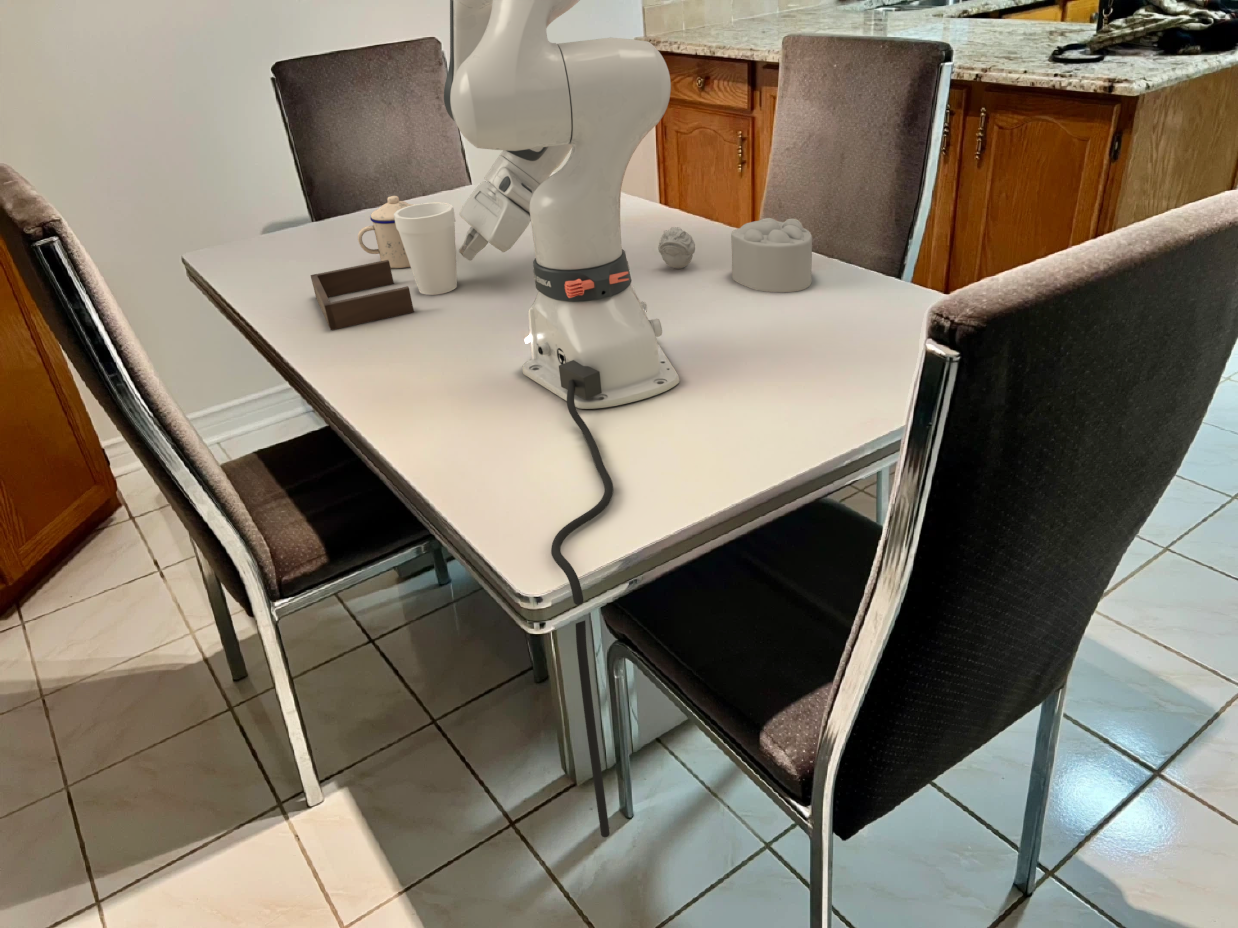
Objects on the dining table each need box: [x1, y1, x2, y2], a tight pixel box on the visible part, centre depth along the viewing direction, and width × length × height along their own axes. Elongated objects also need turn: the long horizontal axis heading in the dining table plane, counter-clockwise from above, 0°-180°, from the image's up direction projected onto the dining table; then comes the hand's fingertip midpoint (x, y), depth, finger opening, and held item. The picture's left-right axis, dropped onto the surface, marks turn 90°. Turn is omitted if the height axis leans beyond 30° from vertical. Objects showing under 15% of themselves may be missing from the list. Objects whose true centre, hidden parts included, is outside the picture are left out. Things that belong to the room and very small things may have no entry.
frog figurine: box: [657, 226, 696, 269], centre depth 153 cm, size 6×7×7 cm
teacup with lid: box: [357, 195, 414, 269], centre depth 168 cm, size 12×9×12 cm
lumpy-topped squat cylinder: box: [730, 217, 813, 293], centre depth 145 cm, size 10×13×9 cm
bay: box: [310, 260, 415, 331], centre depth 151 cm, size 17×13×4 cm
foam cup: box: [394, 201, 458, 296], centre depth 153 cm, size 10×9×13 cm
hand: (464, 256), depth 156 cm, fingers closed, pressing on foam cup
